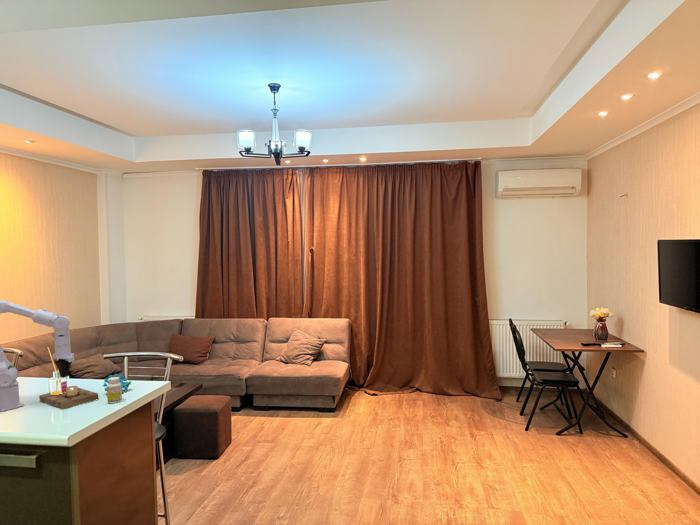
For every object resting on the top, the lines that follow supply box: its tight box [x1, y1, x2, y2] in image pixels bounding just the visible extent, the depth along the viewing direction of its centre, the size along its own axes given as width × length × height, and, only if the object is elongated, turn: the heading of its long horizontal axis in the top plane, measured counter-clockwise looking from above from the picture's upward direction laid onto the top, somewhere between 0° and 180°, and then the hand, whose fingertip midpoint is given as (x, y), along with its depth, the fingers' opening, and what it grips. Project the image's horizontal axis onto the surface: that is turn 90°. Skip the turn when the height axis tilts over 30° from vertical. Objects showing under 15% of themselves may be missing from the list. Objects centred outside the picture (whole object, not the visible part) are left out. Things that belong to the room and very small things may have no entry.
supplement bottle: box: [106, 376, 123, 404], centre depth 195 cm, size 5×5×10 cm
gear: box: [102, 373, 132, 394], centre depth 209 cm, size 11×6×10 cm
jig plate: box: [38, 387, 99, 410], centre depth 199 cm, size 20×14×2 cm
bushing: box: [65, 385, 79, 398], centre depth 197 cm, size 4×4×6 cm
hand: (64, 377), depth 200 cm, fingers closed
